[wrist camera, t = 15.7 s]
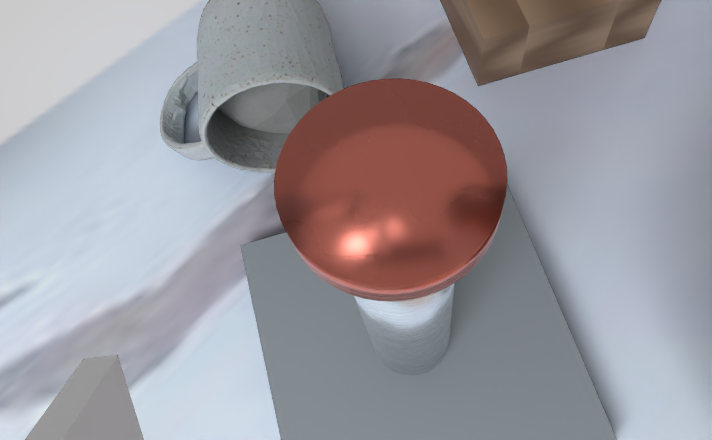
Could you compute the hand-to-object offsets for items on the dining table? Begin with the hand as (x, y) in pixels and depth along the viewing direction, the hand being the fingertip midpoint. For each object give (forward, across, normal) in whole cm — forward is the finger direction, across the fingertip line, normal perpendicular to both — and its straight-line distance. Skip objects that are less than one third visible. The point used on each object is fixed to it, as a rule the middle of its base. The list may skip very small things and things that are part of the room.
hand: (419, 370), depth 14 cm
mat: (+15, 0, -8) cm, 17 cm away
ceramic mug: (+25, -7, +1) cm, 26 cm away
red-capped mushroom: (+14, 0, -8) cm, 16 cm away
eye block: (+29, +10, +6) cm, 31 cm away
